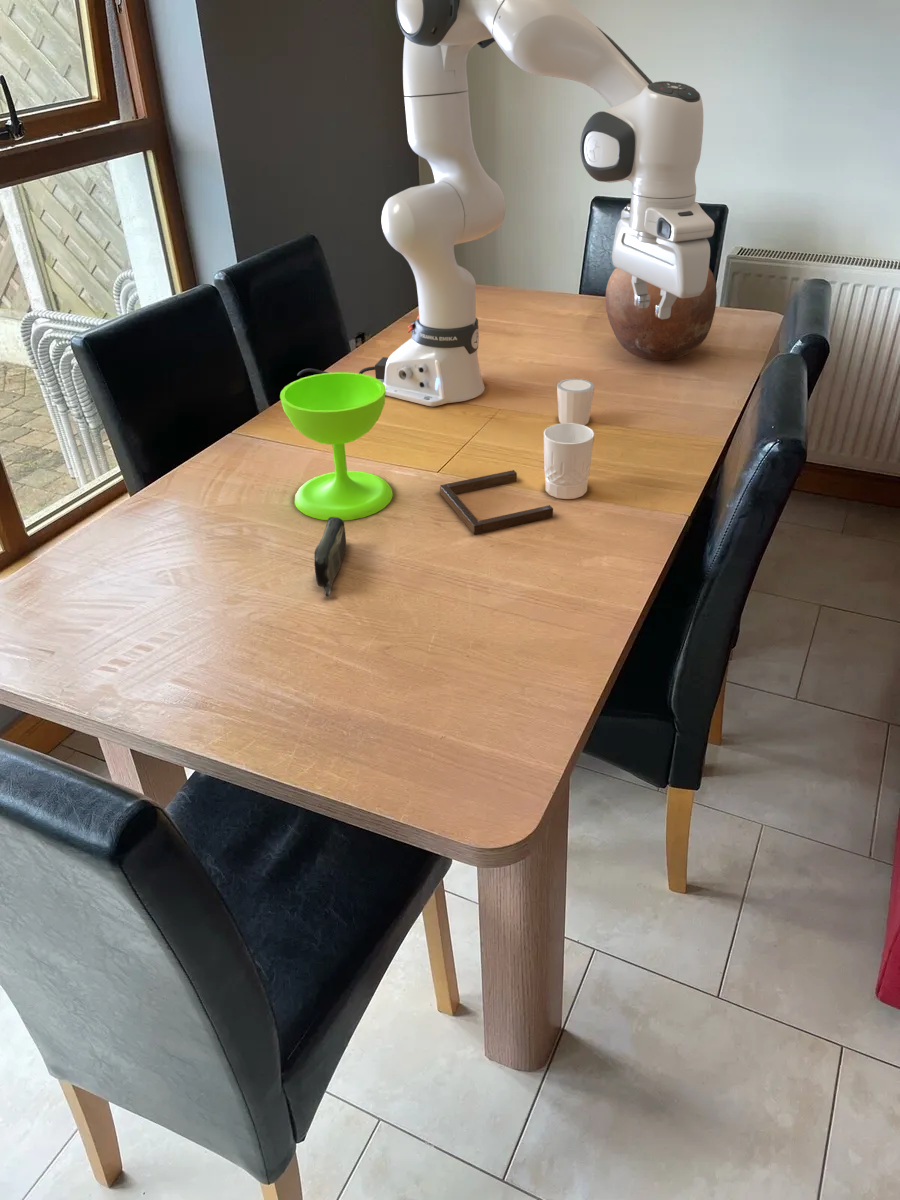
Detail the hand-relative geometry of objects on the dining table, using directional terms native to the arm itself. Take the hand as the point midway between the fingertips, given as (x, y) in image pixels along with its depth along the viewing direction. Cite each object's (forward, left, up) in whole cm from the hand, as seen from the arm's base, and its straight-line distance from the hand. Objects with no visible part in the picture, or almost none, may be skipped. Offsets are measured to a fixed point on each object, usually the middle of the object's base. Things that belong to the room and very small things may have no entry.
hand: (651, 312), depth 137 cm
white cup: (-9, -9, -27) cm, 30 cm away
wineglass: (-42, -24, -27) cm, 56 cm away
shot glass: (-16, +18, -27) cm, 36 cm away
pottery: (-10, +58, -27) cm, 65 cm away
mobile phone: (-33, -44, -27) cm, 62 cm away
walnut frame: (-18, -18, -27) cm, 37 cm away
